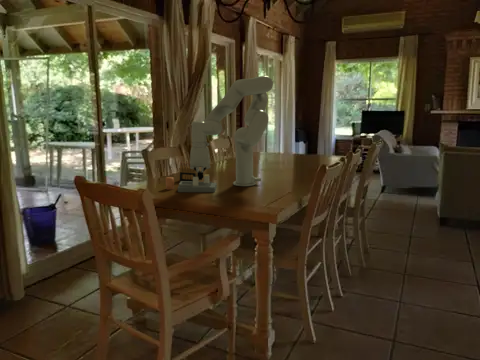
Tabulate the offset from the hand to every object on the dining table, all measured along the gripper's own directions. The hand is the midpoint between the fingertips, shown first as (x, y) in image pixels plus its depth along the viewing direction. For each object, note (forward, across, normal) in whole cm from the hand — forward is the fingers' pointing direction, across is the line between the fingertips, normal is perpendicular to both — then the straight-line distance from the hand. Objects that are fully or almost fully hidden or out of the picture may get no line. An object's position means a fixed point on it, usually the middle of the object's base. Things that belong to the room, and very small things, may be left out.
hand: (200, 179), depth 214 cm
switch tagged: (+3, -3, 0) cm, 4 cm away
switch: (+3, +2, +6) cm, 7 cm away
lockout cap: (+5, +16, +1) cm, 17 cm away
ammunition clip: (+5, +10, -21) cm, 24 cm away
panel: (+5, +1, +3) cm, 6 cm away
